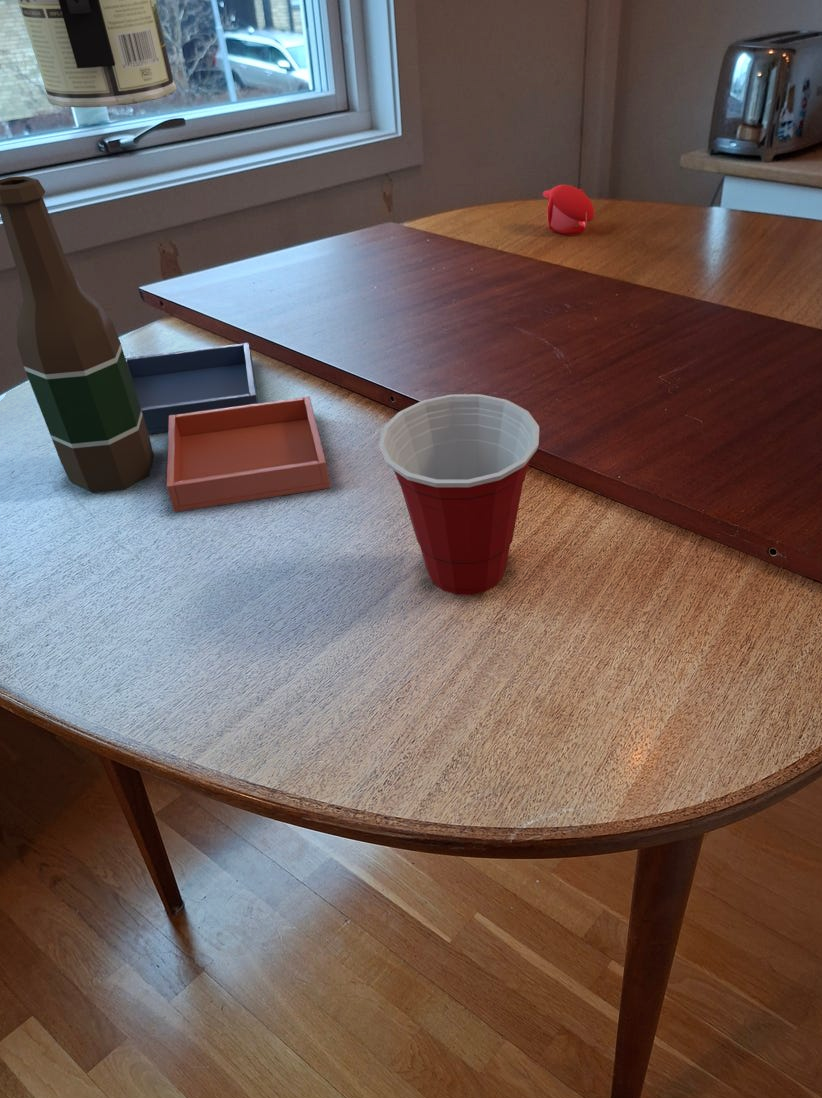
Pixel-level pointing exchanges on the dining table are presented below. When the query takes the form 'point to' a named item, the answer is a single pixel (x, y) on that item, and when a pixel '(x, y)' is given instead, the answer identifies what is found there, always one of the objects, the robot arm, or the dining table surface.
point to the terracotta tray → (244, 454)
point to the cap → (568, 209)
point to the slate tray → (192, 382)
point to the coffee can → (133, 47)
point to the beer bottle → (72, 354)
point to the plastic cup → (462, 482)
